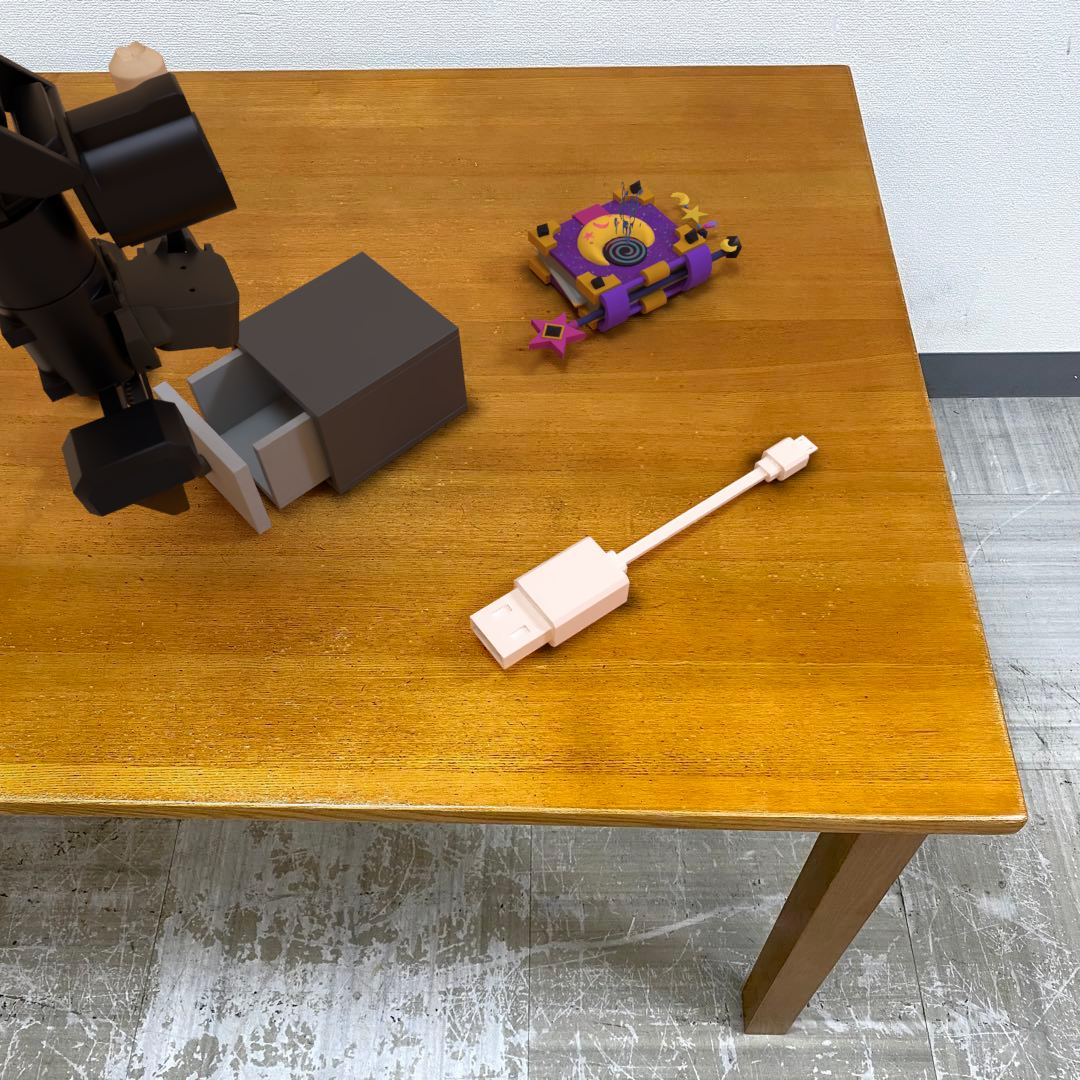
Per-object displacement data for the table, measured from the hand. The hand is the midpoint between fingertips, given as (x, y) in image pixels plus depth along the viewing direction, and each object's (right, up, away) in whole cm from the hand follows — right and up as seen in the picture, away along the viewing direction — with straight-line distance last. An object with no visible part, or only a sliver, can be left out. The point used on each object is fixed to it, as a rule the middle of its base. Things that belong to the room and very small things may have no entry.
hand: (164, 457), depth 64 cm
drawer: (+2, +2, +20) cm, 20 cm away
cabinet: (+8, +6, +24) cm, 26 cm away
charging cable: (+32, -6, +15) cm, 36 cm away
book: (+31, +19, +33) cm, 49 cm away
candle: (-18, +39, +47) cm, 63 cm away
